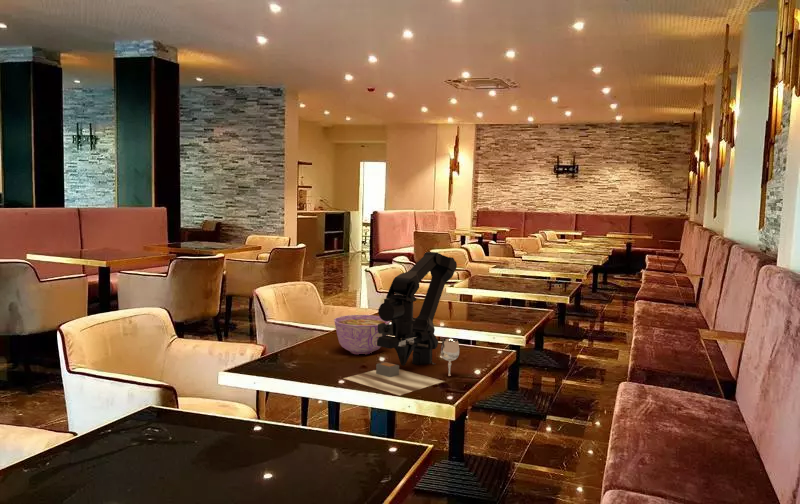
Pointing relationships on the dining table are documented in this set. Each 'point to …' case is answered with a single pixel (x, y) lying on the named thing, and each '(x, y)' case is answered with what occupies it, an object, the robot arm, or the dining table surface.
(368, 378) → the subfloor board
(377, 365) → the block
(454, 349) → the wineglass
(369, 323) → the bowl of food
